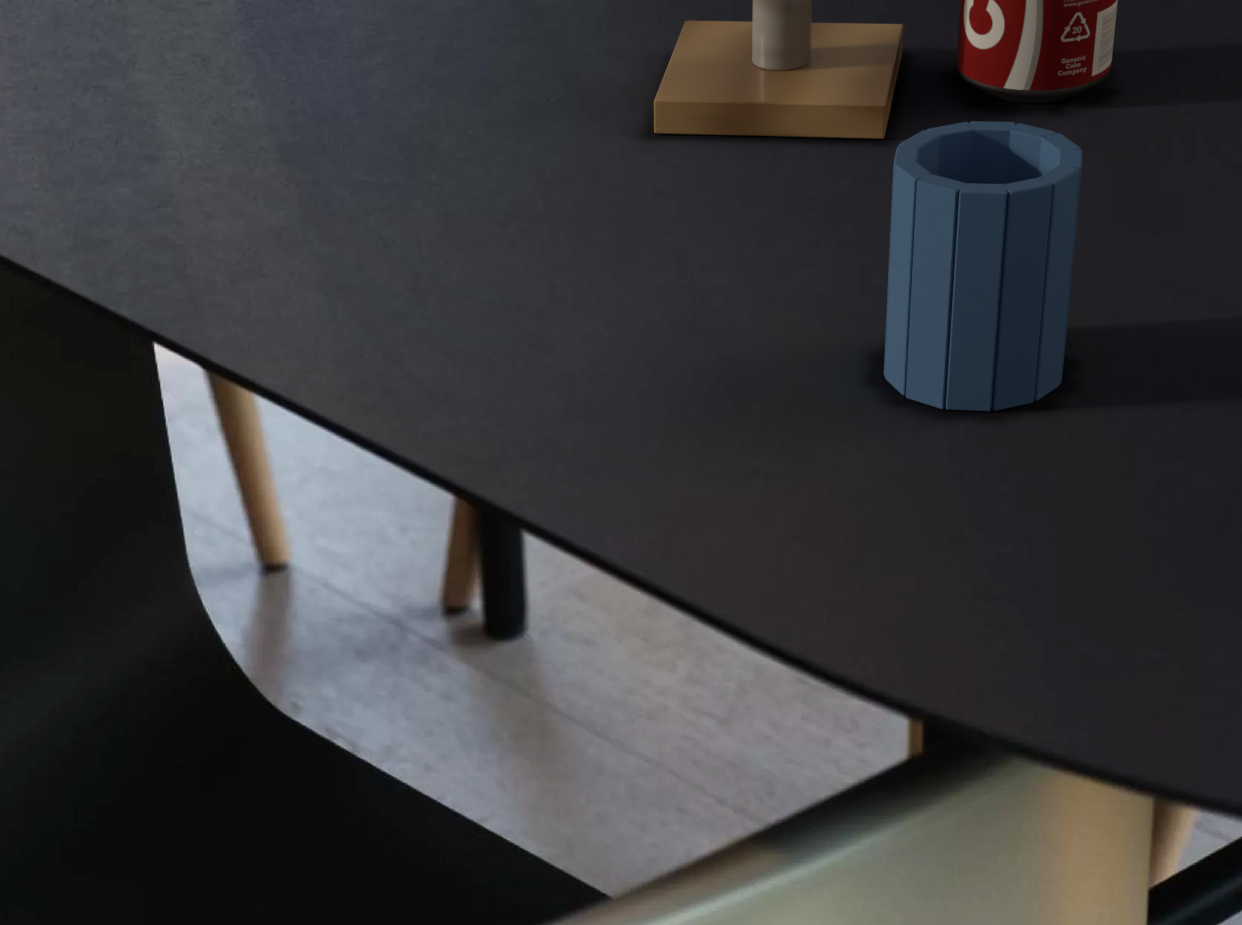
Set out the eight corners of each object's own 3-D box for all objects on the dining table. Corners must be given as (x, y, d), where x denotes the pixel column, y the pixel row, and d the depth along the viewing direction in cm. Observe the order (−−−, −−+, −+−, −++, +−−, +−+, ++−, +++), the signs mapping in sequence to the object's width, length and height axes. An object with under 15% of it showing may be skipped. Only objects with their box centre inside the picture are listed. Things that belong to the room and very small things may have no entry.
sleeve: (1064, 336, 99) (1084, 123, 94) (1059, 415, 95) (1079, 194, 89) (892, 330, 100) (902, 119, 95) (878, 407, 96) (887, 189, 91)
